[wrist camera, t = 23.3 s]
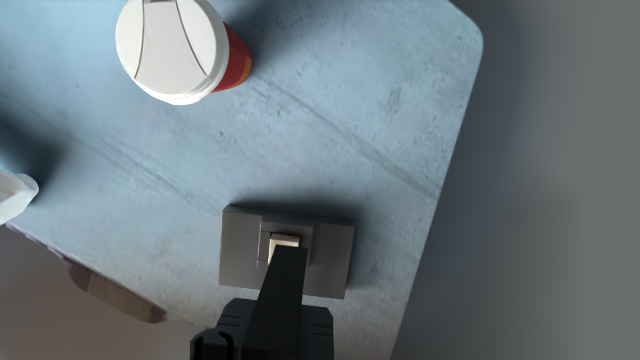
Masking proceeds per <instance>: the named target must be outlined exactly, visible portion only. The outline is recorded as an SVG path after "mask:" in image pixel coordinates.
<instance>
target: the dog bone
mask: <svg viewBox="0 0 640 360" xmlns="http://www.w3.org/2000/svg"><path fill="white" fill-rule="evenodd" d="M38 191H39V187H38V184H37V183H36V181H35V180H34V179H33V178H31V177H30V176H28V175H26V174H22V173H17V174H13V173H11V172H8V171H4V170H0V225H2V224H4V223H5V222H7V221H8V220H10V219H11V218H13V217H15V216H16V215H19V214H21V213H23V212H24V211H25V209H26V207H27V205H28V204H29V203H30V201H31V200H32V199H33V198H34V196H35V195H36V194H37V193H38Z"/></svg>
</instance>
